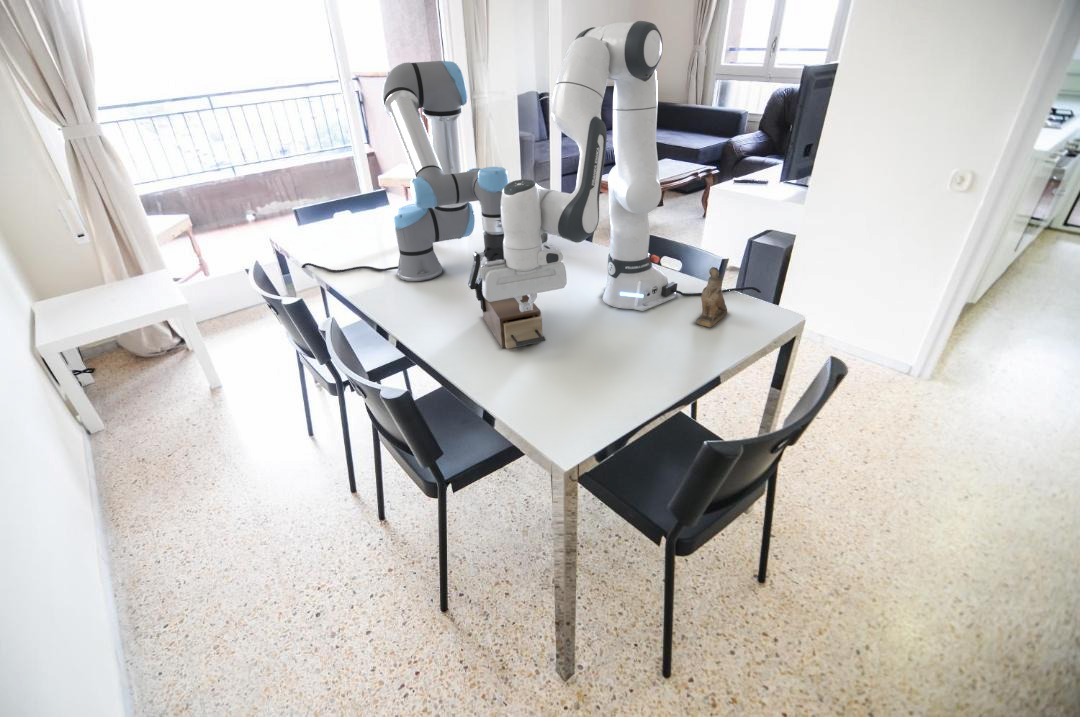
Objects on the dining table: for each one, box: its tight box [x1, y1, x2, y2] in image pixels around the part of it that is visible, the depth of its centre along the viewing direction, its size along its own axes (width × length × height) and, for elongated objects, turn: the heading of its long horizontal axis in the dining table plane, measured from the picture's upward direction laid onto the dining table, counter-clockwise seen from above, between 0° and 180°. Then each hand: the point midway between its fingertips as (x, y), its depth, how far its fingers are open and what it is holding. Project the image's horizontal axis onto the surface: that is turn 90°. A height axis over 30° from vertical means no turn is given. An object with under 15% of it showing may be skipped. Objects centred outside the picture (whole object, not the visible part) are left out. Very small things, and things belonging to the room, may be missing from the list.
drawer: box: [503, 315, 546, 350], centre depth 132 cm, size 23×10×7 cm, turn 20°
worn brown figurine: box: [695, 266, 728, 328], centre depth 135 cm, size 12×6×18 cm, turn 136°
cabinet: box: [482, 295, 542, 349], centre depth 136 cm, size 19×11×9 cm, turn 20°
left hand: (503, 306), depth 142 cm, fingers closed on cabinet, 11 cm apart
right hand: (526, 310), depth 121 cm, fingers closed
